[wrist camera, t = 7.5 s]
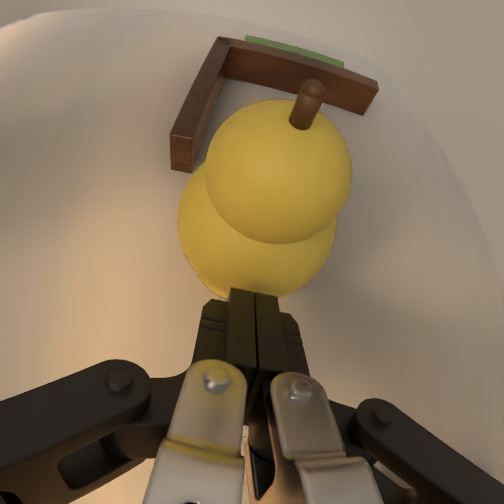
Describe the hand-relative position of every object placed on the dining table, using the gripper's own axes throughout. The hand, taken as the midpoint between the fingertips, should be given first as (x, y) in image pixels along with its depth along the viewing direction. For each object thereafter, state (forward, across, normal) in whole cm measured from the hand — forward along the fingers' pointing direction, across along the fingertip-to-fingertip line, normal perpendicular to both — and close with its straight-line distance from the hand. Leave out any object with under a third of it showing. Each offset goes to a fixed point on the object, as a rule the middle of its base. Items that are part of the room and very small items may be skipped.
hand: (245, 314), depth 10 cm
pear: (+6, 0, 0) cm, 6 cm away
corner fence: (+13, -1, -6) cm, 14 cm away
